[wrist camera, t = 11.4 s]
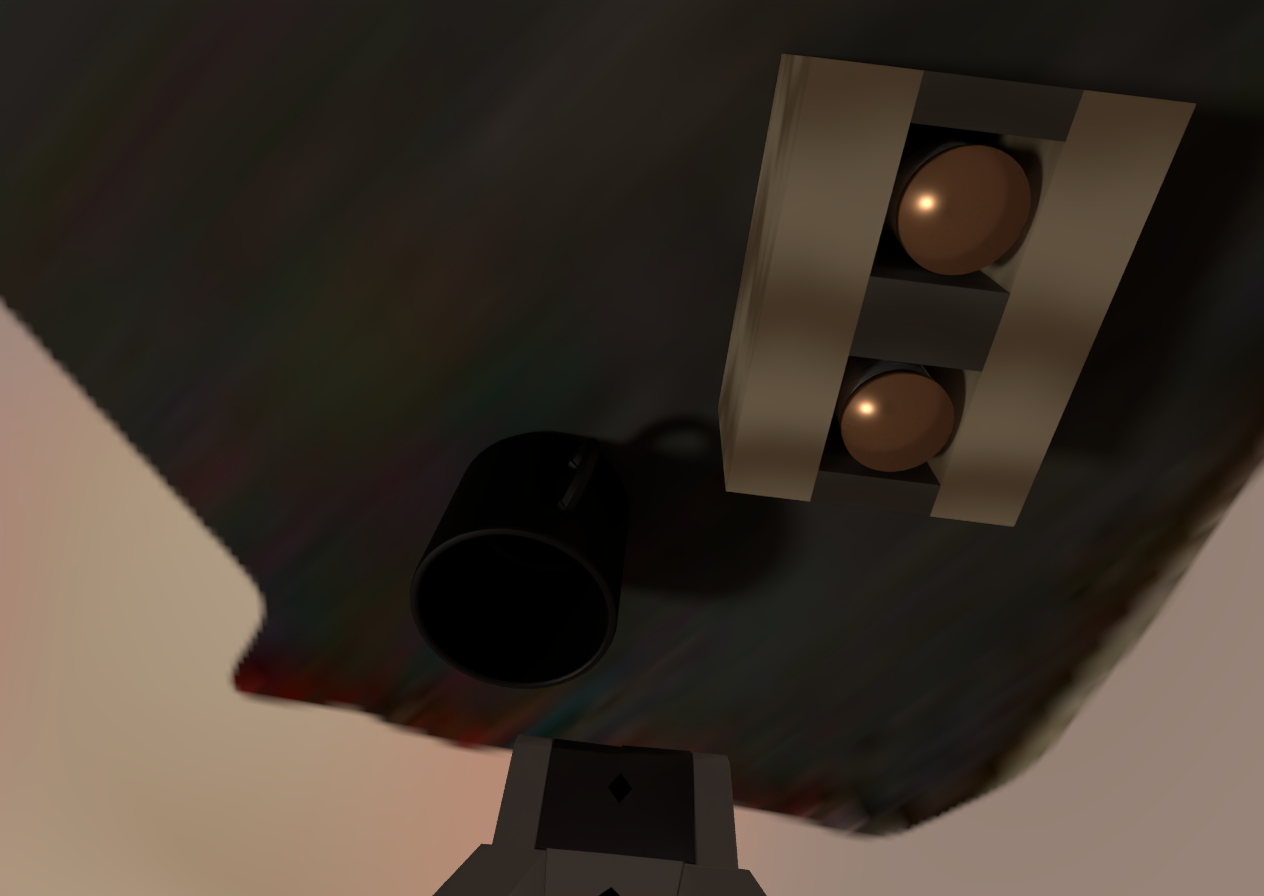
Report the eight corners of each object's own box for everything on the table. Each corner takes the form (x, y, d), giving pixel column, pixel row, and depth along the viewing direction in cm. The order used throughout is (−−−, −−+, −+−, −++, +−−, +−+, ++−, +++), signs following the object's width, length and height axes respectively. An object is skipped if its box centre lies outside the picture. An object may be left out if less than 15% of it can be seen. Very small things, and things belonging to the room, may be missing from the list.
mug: (685, 443, 39) (686, 545, 31) (582, 596, 44) (560, 717, 36) (522, 359, 37) (479, 444, 29) (436, 529, 42) (379, 640, 35)
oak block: (781, 53, 30) (811, 56, 23) (1076, 89, 30) (1196, 103, 23) (717, 407, 38) (725, 491, 31) (952, 436, 38) (1013, 526, 31)
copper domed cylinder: (868, 117, 30) (920, 138, 24) (970, 129, 30) (1050, 153, 24) (843, 222, 32) (884, 267, 26) (939, 233, 32) (1004, 282, 26)
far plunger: (823, 305, 34) (857, 368, 28) (914, 316, 34) (969, 381, 28) (804, 388, 36) (831, 465, 30) (889, 398, 36) (935, 477, 30)
